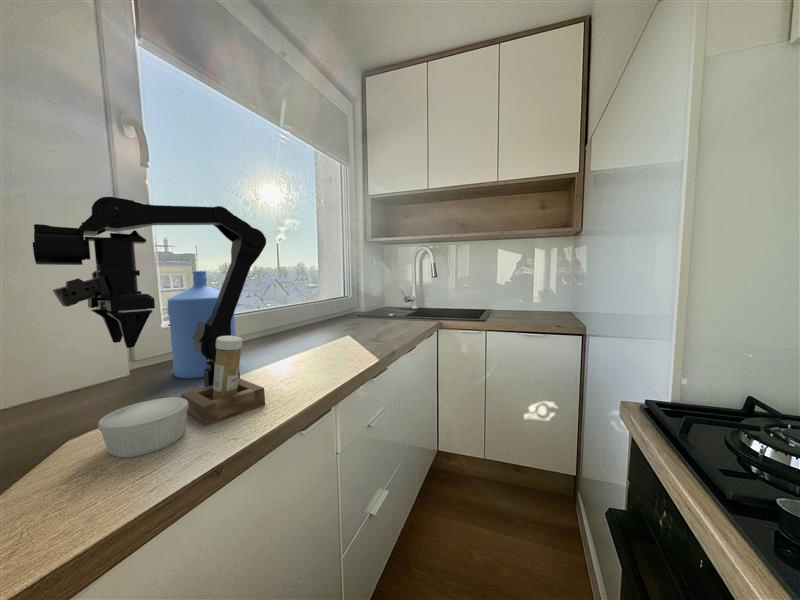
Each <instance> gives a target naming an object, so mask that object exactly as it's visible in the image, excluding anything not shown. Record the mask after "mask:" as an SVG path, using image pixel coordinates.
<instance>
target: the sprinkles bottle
mask: <svg viewBox="0 0 800 600" xmlns="http://www.w3.org/2000/svg"><path fill="white" fill-rule="evenodd" d="M242 348H243V338H242V337H241V336H238V335H236V336H220V337H218V338H217V339H216V361H215V368H214V381H213V400H215V399H218V398H221V397H225V396H228V395H231V394H234V393H237V387H238V379H239V371H240V362H241V361H240V360H241V355H240V353H241V350H242Z"/></svg>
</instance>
